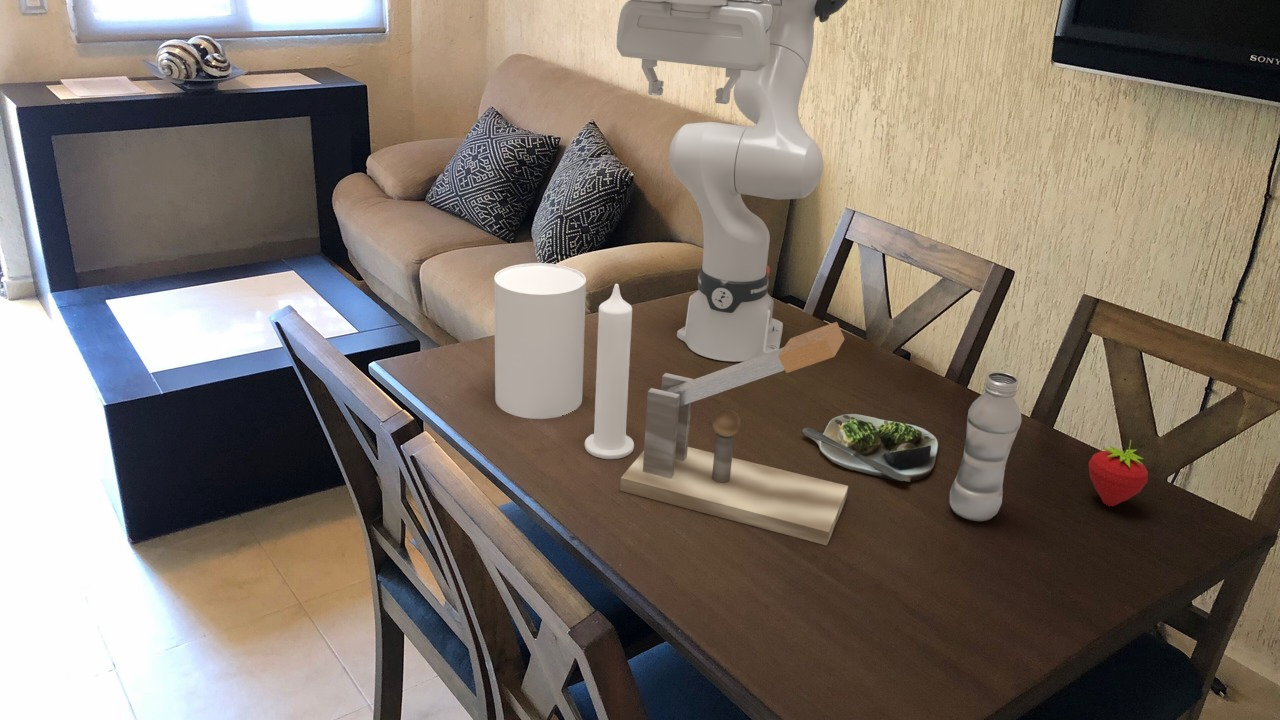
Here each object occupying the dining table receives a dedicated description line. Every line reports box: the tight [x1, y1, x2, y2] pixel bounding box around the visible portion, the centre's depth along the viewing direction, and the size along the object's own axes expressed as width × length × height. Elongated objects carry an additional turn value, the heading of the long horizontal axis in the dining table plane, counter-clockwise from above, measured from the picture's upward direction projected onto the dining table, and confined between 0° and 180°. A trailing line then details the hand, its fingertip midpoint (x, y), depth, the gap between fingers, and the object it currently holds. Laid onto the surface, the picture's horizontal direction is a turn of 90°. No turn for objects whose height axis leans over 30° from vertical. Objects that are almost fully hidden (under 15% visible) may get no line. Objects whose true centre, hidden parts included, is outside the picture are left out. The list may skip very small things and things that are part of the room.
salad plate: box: [802, 413, 940, 483], centre depth 147 cm, size 19×18×5 cm
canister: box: [493, 262, 587, 420], centre depth 153 cm, size 14×14×20 cm
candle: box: [584, 283, 635, 460], centre depth 139 cm, size 7×7×25 cm
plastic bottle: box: [949, 371, 1022, 522], centre depth 129 cm, size 6×7×20 cm
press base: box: [619, 372, 849, 546], centre depth 131 cm, size 12×28×14 cm, turn 68°
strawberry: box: [1088, 439, 1149, 507], centre depth 135 cm, size 6×8×10 cm
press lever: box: [663, 321, 846, 407], centre depth 127 cm, size 6×26×2 cm
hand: (688, 98), depth 133 cm, fingers open, 8 cm apart
